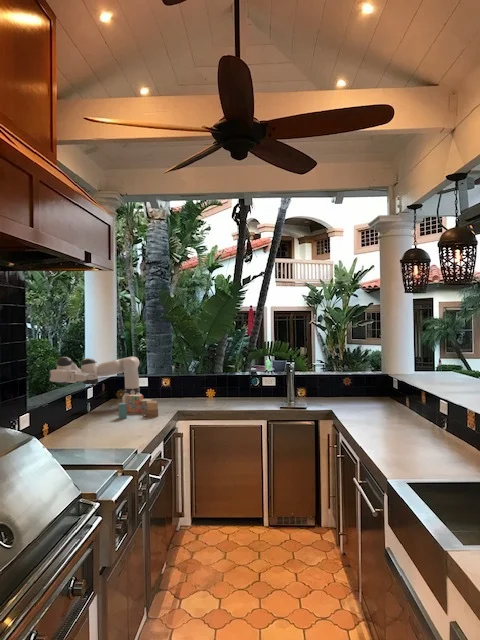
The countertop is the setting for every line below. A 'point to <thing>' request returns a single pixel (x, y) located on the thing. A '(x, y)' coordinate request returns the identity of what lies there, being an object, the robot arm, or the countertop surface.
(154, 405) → the tower top
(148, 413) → the tower base
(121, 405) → the teal block
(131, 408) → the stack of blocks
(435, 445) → the countertop surface
